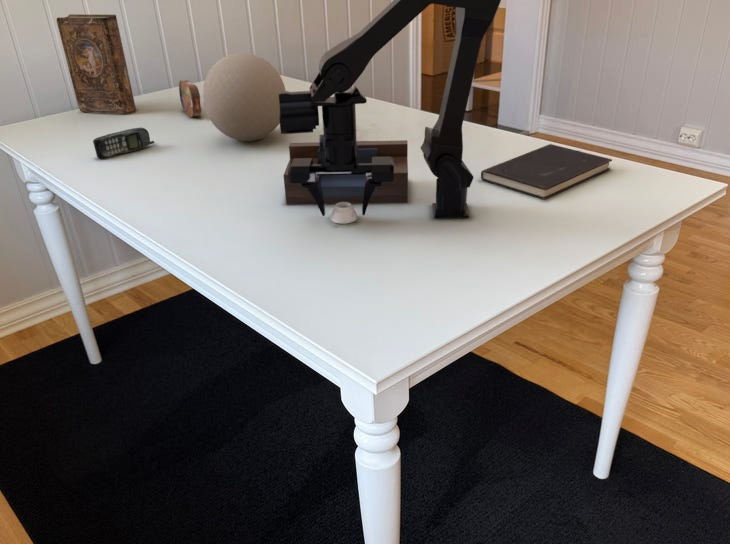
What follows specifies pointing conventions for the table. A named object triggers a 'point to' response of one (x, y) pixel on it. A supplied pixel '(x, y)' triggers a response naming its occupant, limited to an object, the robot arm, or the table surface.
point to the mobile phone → (121, 142)
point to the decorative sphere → (243, 96)
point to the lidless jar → (343, 213)
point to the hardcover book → (546, 171)
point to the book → (97, 63)
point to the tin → (190, 98)
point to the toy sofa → (352, 185)
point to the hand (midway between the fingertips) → (343, 214)
